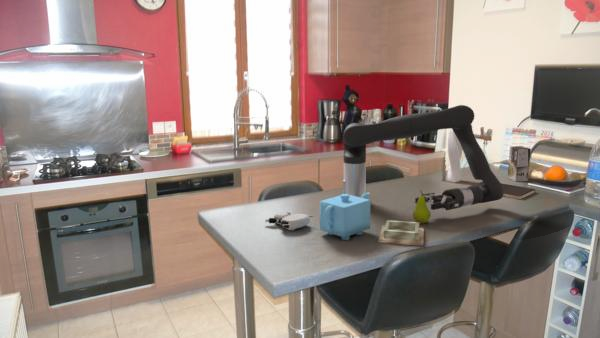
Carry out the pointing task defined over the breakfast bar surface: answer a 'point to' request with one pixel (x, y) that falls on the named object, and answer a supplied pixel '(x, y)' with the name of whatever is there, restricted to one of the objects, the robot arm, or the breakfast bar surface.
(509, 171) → the coffee box
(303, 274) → the breakfast bar surface
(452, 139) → the skyscraper
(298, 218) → the robot toy
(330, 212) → the teapot
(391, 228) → the tray
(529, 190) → the book
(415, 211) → the fruit
